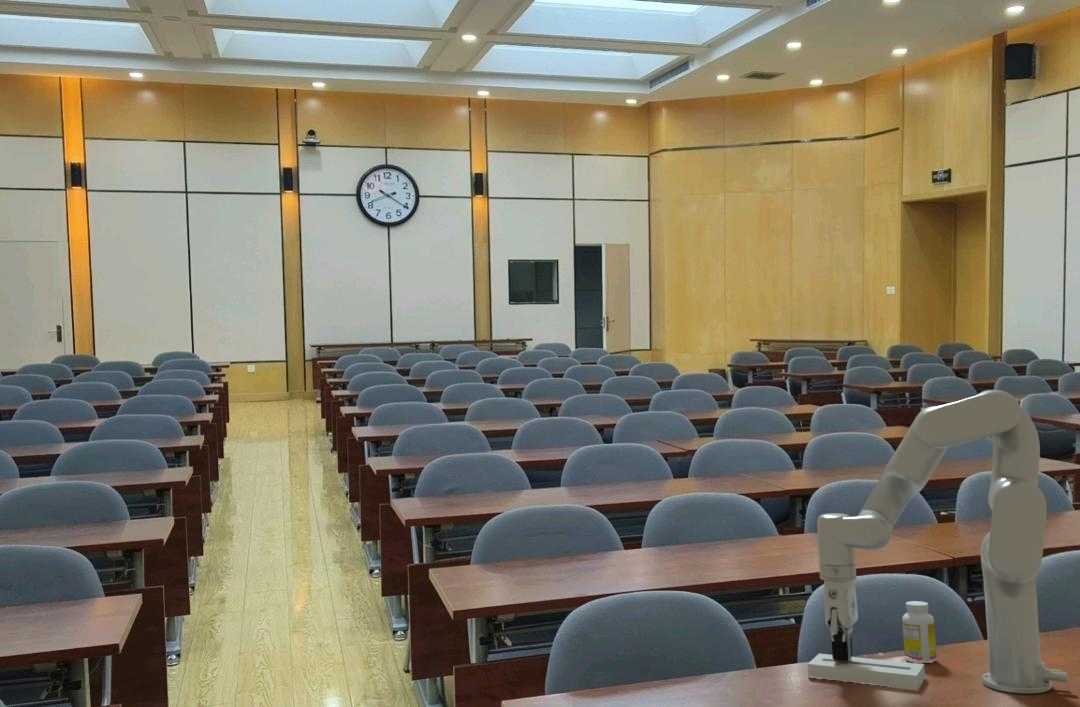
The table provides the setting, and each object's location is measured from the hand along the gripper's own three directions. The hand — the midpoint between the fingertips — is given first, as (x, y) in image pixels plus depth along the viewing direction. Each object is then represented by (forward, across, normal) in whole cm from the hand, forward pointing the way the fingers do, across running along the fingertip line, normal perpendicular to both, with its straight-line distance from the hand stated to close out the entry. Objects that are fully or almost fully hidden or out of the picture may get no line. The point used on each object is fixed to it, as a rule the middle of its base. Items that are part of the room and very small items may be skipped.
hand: (842, 657), depth 200 cm
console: (+4, 0, -5) cm, 6 cm away
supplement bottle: (+4, +18, -13) cm, 22 cm away
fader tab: (+1, 0, 0) cm, 1 cm away
